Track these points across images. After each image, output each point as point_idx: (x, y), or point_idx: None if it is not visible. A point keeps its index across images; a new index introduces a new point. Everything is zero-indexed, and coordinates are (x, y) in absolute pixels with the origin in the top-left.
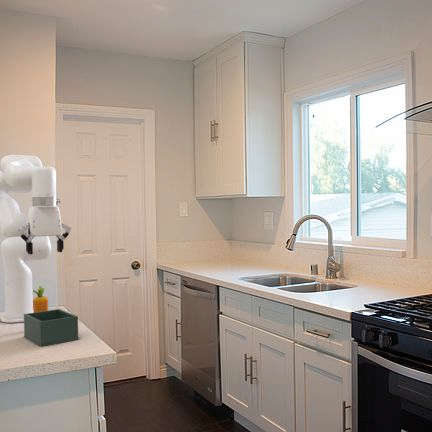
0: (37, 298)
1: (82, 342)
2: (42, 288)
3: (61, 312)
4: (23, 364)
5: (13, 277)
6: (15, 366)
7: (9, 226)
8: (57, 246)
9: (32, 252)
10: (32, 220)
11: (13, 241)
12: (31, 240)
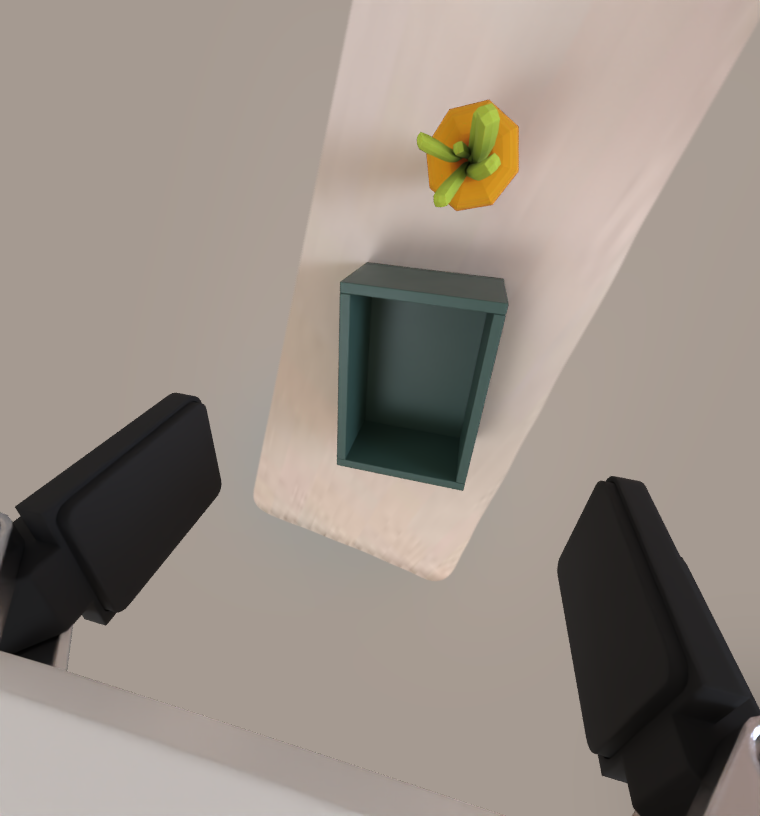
0: (439, 184)
1: None
2: (482, 165)
3: (483, 356)
4: (284, 507)
5: None
6: (270, 506)
7: None
8: (615, 559)
9: (208, 502)
10: None
11: None
12: (67, 651)
